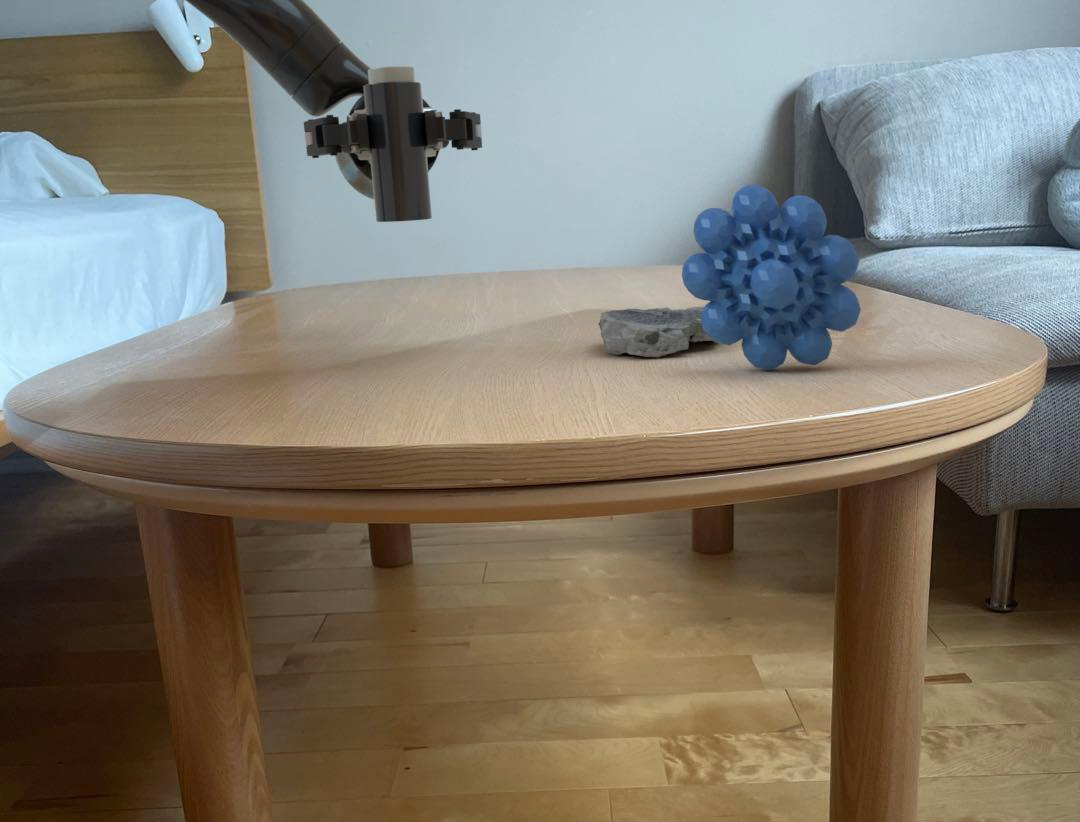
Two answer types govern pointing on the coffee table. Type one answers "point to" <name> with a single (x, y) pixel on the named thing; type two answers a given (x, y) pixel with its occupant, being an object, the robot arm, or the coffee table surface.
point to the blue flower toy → (772, 278)
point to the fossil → (651, 330)
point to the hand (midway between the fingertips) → (397, 129)
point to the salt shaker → (397, 145)
